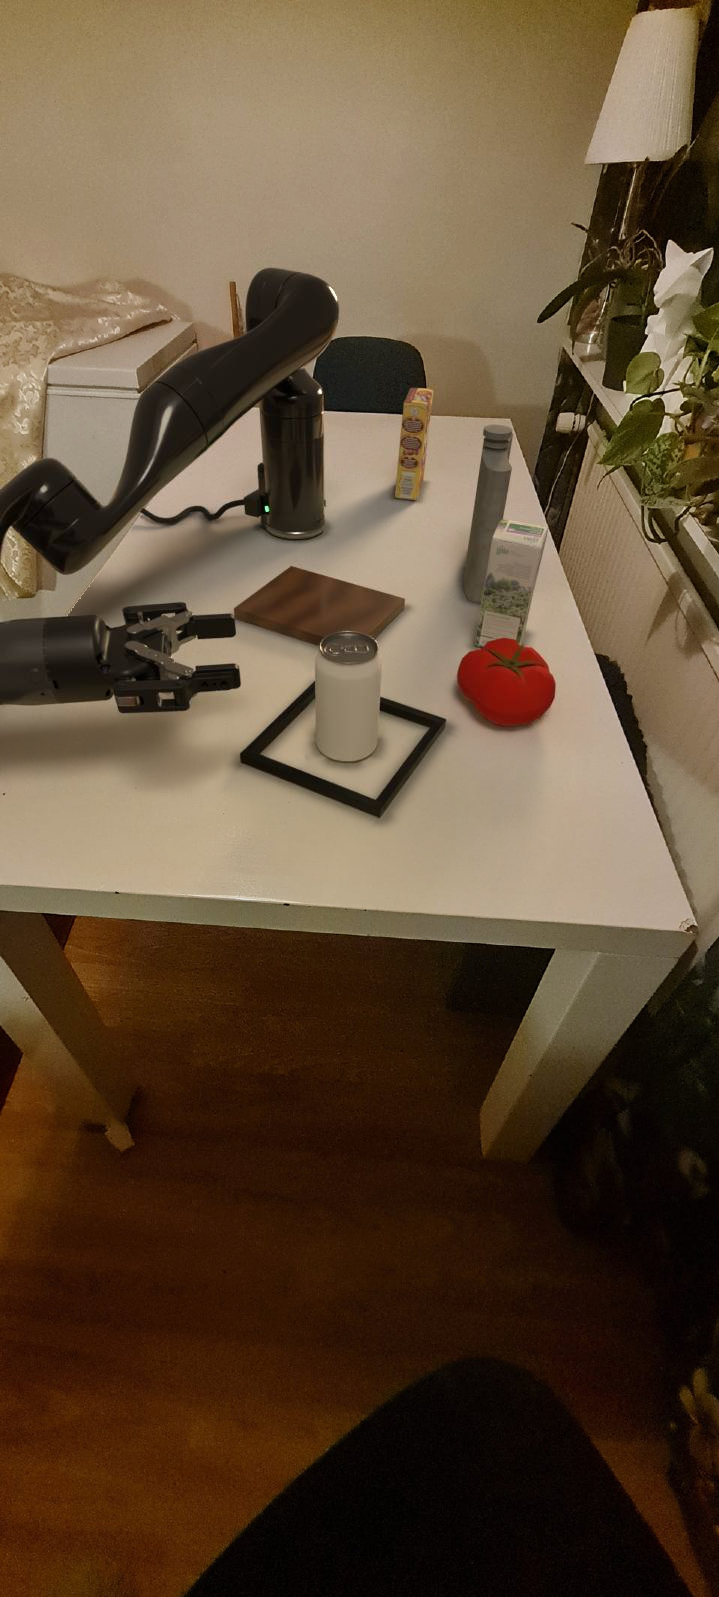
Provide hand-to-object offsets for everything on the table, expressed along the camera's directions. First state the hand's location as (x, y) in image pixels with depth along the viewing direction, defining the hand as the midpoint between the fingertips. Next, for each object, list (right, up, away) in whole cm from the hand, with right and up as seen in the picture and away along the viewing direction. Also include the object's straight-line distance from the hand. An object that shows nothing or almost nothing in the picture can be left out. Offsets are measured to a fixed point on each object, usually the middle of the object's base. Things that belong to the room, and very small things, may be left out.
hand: (237, 649), depth 65 cm
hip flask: (+28, +19, +39) cm, 51 cm away
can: (+10, -8, +10) cm, 16 cm away
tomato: (+27, -3, +16) cm, 32 cm away
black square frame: (+10, -8, +10) cm, 16 cm away
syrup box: (+29, +7, +26) cm, 40 cm away
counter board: (+6, +11, +29) cm, 32 cm away
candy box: (+20, +41, +61) cm, 76 cm away
